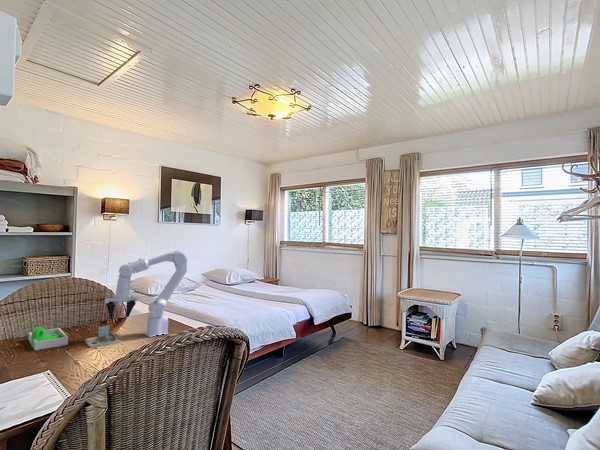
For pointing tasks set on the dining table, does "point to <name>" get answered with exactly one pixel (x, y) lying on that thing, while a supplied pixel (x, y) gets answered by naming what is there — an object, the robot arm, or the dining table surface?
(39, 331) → the mechanical part
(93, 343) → the template plate
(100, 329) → the sliding leg
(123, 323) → the dining table surface
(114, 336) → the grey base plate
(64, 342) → the white tray
